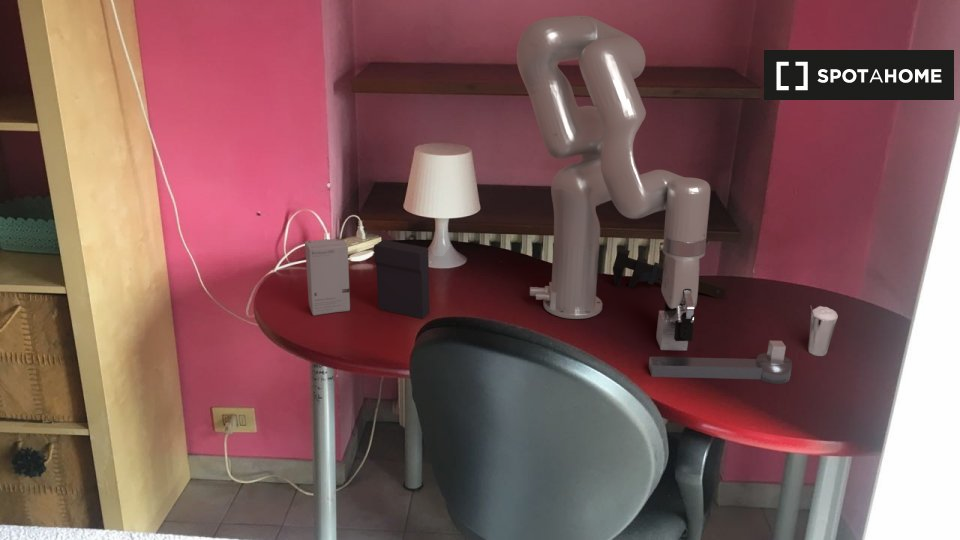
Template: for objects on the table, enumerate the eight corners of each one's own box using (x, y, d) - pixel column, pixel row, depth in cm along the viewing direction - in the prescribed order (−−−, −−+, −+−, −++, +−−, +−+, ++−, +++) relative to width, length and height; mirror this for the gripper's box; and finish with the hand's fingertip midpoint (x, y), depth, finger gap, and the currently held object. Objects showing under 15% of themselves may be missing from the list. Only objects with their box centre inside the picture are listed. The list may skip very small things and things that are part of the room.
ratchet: (652, 381, 135) (656, 348, 133) (647, 364, 141) (650, 333, 139) (794, 384, 135) (800, 352, 132) (783, 367, 140) (788, 336, 138)
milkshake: (795, 347, 147) (804, 300, 144) (822, 346, 148) (832, 299, 144) (807, 358, 143) (816, 310, 139) (834, 357, 144) (844, 309, 140)
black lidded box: (431, 312, 161) (430, 246, 155) (421, 320, 157) (420, 253, 151) (387, 302, 165) (384, 238, 159) (376, 310, 161) (373, 244, 155)
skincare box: (312, 316, 158) (306, 250, 153) (308, 305, 164) (302, 240, 158) (352, 310, 161) (348, 245, 155) (347, 299, 166) (342, 235, 161)
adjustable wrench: (715, 318, 170) (607, 284, 174) (715, 313, 172) (609, 279, 177) (728, 285, 166) (617, 251, 171) (728, 281, 169) (619, 247, 173)
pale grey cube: (660, 349, 146) (663, 322, 144) (656, 337, 151) (659, 310, 148) (686, 350, 146) (690, 322, 143) (681, 338, 150) (684, 311, 148)
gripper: (655, 230, 148) (650, 310, 154) (673, 261, 132) (666, 349, 138) (694, 230, 148) (687, 310, 154) (716, 261, 132) (708, 349, 138)
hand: (677, 329), depth 146 cm, fingers open, 9 cm apart
